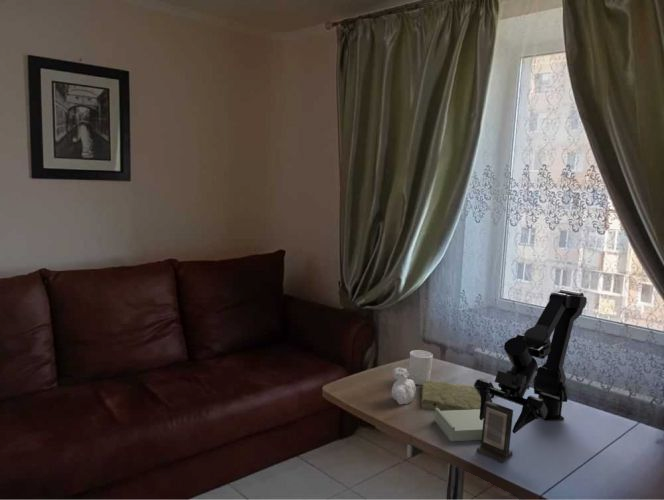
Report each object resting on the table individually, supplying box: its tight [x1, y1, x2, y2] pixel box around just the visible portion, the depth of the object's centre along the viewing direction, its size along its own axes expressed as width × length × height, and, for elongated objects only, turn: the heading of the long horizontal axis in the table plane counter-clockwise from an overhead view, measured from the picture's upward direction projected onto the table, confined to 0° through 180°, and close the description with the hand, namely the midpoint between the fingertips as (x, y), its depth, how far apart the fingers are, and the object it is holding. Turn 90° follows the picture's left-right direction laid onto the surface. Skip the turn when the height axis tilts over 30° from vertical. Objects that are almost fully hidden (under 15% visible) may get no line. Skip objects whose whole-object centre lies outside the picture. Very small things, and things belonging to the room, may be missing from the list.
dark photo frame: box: [476, 401, 514, 464], centre depth 136 cm, size 6×7×13 cm
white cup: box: [409, 349, 434, 386], centre depth 182 cm, size 8×8×10 cm
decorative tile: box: [421, 380, 481, 411], centre depth 167 cm, size 18×20×4 cm
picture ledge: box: [434, 408, 484, 442], centre depth 149 cm, size 14×12×4 cm
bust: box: [391, 367, 417, 405], centre depth 167 cm, size 12×8×11 cm
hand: (496, 425), depth 136 cm, fingers open, 9 cm apart
